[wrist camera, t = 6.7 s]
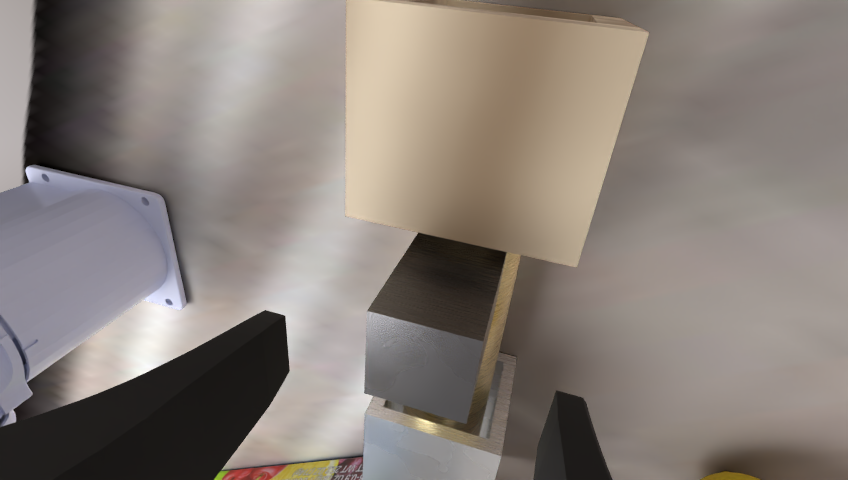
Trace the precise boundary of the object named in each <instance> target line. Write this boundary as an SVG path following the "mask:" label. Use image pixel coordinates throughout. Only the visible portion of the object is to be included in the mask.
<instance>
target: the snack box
mask: <svg viewBox="0 0 848 480" xmlns="http://www.w3.org/2000/svg"><path fill="white" fill-rule="evenodd" d="M362 477H363V457H357V458H347V459H338V460H328V461H318V462H308V463H299V464H289V465H279V466H269V467H258V468H248V469H238V470H229V471H220V472H219V473H218V475H217V476H216V477H215V479H214V480H362Z"/></svg>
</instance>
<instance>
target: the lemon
mask: <svg viewBox="0 0 848 480" xmlns="http://www.w3.org/2000/svg"><path fill="white" fill-rule="evenodd" d="M700 480H761V479H758V478H755V477H753V476H750V475H746V474H742V473H733V472H728V471H723V472H720V473H715V474H712V475H708V476H706V477H704V478H702V479H700Z"/></svg>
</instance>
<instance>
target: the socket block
mask: <svg viewBox="0 0 848 480" xmlns="http://www.w3.org/2000/svg"><path fill="white" fill-rule="evenodd" d="M648 35H649V32H647V31H646V30H644V29H642V28H640V27H638V26H636V25H634V24H632V23H630V22H628V21H626V20H624V19H622V18H616V17H607V16H598V15H589V14H580V13H571V12H562V11H553V10H544V9H535V8H526V7H517V6H508V5H499V4H490V3H481V2H472V1H463V0H346V137H345V216H346V217H351V218H355V219H360V220H364V221H369V222H373V223H378V224H382V225H387V226H391V227H396V228H400V229H405V230H409V231H414V232H418V233H423V234H428V235H432V236H437V237H441V238H446V239H450V240H455V241H459V242H464V243H468V244H473V245H477V246H482V247H486V248H491V249H495V250H500V251H504V252H509V253H513V254H518V255H522V256H527V257H531V258H536V259H540V260H545V261H549V262H554V263H558V264H563V265H567V266H572V267H576V268H577V266H578V262H579V259H580V256H581V253H582V249H583V246H584V243H585V240H586V236H587V233H588V230H589V227H590V223H591V220H592V217H593V214H594V211H595V207H596V204H597V201H598V198H599V194H600V191H601V188H602V185H603V181H604V178H605V175H606V172H607V168H608V165H609V162H610V159H611V155H612V152H613V149H614V146H615V142H616V139H617V136H618V133H619V129H620V126H621V123H622V120H623V116H624V113H625V110H626V107H627V103H628V100H629V97H630V94H631V90H632V87H633V84H634V81H635V77H636V74H637V71H638V68H639V65H640V61H641V58H642V55H643V52H644V48H645V45H646V42H647V39H648Z"/></svg>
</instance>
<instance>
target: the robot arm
mask: <svg viewBox="0 0 848 480" xmlns="http://www.w3.org/2000/svg"><path fill="white" fill-rule="evenodd" d="M26 174H27V177H28V179H29V182H30V183H27V184H24V185H21V186H19V187H16V188H13V189H10V190H7V191H4V192H1V193H0V480H214V479H215V477H216V476H217V475H218V473H219V472H220V471H221V469H222V468H223V467H224V466H225V464H226V463H227V462H228V460H229V459H230V458H231V456H232V455H233V454H234V452H235V451H236V450H237V448H238V447H239V446H240V444H241V443H242V442H243V440H244V439H245V438H246V436H247V435H248V434H249V432H250V431H251V430H252V428H253V427H254V426H255V424H256V423H257V422H258V420H259V419H260V418H261V416H262V415H263V414H264V412H265V411H266V410H267V408H268V407H269V405H270V404H271V402H272V401H273V399H274V397H275V396H276V394H277V392H278V391H279V389H280V387H281V385H282V383H283V382H284V380H285V378H286V376H287V374H288V373H289V371H290V370H289V358H288V346H287V333H286V321H285V316H284V315H281V314H277V313H273V312H270V311H266V310H265V311H263V312H261V313H259V314H257V315H255V316H253V317H251V318H249V319H248V320H246V321H244V322H242V323H240V324H239V325H237V326H235V327H233V328H231V329H230V330H228V331H226V332H224V333H222V334H221V335H219V336H217V337H215V338H213V339H211V340H210V341H208V342H206V343H204V344H202V345H200V346H198V347H197V348H195V349H193V350H191V351H189V352H187V353H185V354H183V355H181V356H179V357H177V358H175V359H173V360H171V361H169V362H167V363H165V364H163V365H161V366H159V367H157V368H155V369H153V370H151V371H149V372H147V373H145V374H142V375H140V376H138V377H136V378H134V379H131V380H129V381H127V382H125V383H122V384H120V385H117V386H115V387H113V388H110V389H108V390H105V391H103V392H100V393H98V394H96V395H93V396H90V397H88V398H85V399H82V400H80V401H77V402H74V403H71V404H68V405H65V406H63V407H60V408H57V409H54V410H51V411H49V412H46V413H43V414H40V415H37V416H34V417H31V418H28V419H24V420H21V421H18V422H16V415H15V412H14V411H13V409H14V408H16V407H17V406H18V405H20V404H21V403H23V402H24V401H25V400H27V399H28V398H29V397H31V396H32V392H31V390H30V389H29V387H28V385H27V382H28V381H29V380H31V379H32V378H34V377H35V376H36V375H38V374H39V373H41V372H42V371H43V370H45V369H46V368H48V367H49V366H51V365H52V364H53V363H55V362H56V361H58V360H59V359H60V358H62V357H63V356H65V355H66V354H67V353H69V352H70V351H72V350H73V349H75V348H76V347H77V346H79V345H80V344H82V343H83V342H84V341H86V340H87V339H89V338H90V337H91V336H93V335H94V334H96V333H97V332H99V331H100V330H101V329H103V328H104V327H106V326H107V325H108V324H110V323H111V322H113V321H114V320H115V319H117V318H118V317H120V316H121V315H123V314H124V313H125V312H127V311H128V310H130V309H131V308H132V307H134V306H135V305H137V304H138V303H139V302H141V301H142V300H146V301H149V302H152V303H156V304H159V305H163V306H166V307H170V308H173V309H177V310H182V309H183V308H184V307H185V306H186V298H185V293H184V289H183V284H182V279H181V275H180V270H179V265H178V261H177V256H176V251H175V247H174V242H173V237H172V233H171V228H170V223H169V219H168V214H167V209H166V205H165V201H164V199H163V198H162V196H161V195H159V194H157V193H154V192H150V191H146V190H141V189H137V188H133V187H128V186H124V185H120V184H115V183H111V182H107V181H102V180H98V179H94V178H89V177H85V176H81V175H76V174H72V173H68V172H63V171H59V170H55V169H50V168H46V167H42V166H37V165H32V166H28V167H27V168H26ZM534 480H612V477H611V475H610V472H609V470H608V467H607V465H606V462H605V459H604V457H603V454H602V451H601V448H600V446H599V443H598V440H597V437H596V434H595V431H594V428H593V425H592V422H591V418H590V415H589V411H588V408H587V404H586V402H585V400H584V399H583V398H582V397H578V396H574V395H571V394H567V393H564V392H560V391H556V393H555V396H554V399H553V402H552V405H551V408H550V411H549V414H548V417H547V420H546V423H545V426H544V429H543V432H542V435H541V438H540V441H539V444H538V449H537V457H536V465H535V473H534Z"/></svg>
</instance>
